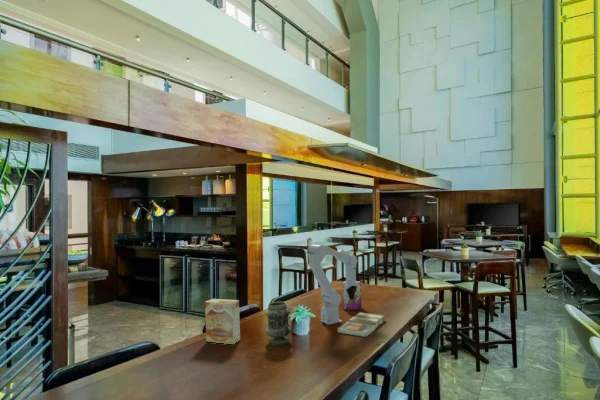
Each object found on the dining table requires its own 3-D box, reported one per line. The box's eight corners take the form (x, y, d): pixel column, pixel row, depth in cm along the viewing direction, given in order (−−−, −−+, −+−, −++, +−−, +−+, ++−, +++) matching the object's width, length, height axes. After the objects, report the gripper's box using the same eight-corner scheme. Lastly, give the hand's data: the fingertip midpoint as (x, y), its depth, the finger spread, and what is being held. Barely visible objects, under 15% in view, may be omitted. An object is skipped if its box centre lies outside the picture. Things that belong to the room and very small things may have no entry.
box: (366, 337, 175) (366, 332, 175) (337, 332, 183) (337, 328, 183) (375, 329, 186) (375, 325, 186) (348, 325, 194) (348, 321, 194)
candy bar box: (343, 310, 223) (342, 282, 224) (343, 307, 228) (342, 281, 229) (362, 309, 222) (360, 282, 223) (361, 307, 227) (360, 280, 228)
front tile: (360, 326, 182) (360, 331, 182) (351, 325, 185) (351, 329, 185) (356, 329, 178) (356, 334, 178) (347, 328, 181) (347, 332, 181)
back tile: (361, 330, 183) (361, 326, 183) (351, 329, 186) (351, 325, 186) (364, 327, 187) (364, 323, 187) (355, 326, 190) (355, 322, 190)
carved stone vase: (280, 335, 181) (278, 299, 182) (297, 341, 173) (295, 302, 173) (260, 342, 173) (259, 304, 173) (277, 348, 164) (276, 308, 165)
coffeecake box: (205, 342, 176) (204, 301, 176) (214, 337, 182) (212, 298, 183) (233, 345, 170) (231, 303, 171) (240, 340, 177) (239, 299, 178)
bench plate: (374, 328, 186) (374, 322, 186) (349, 325, 194) (349, 319, 194) (384, 320, 199) (384, 315, 199) (360, 317, 206) (359, 312, 206)
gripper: (352, 278, 203) (353, 302, 202) (362, 273, 215) (363, 297, 215) (340, 277, 207) (341, 301, 206) (350, 273, 219) (351, 296, 219)
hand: (351, 299), depth 211 cm, fingers closed
